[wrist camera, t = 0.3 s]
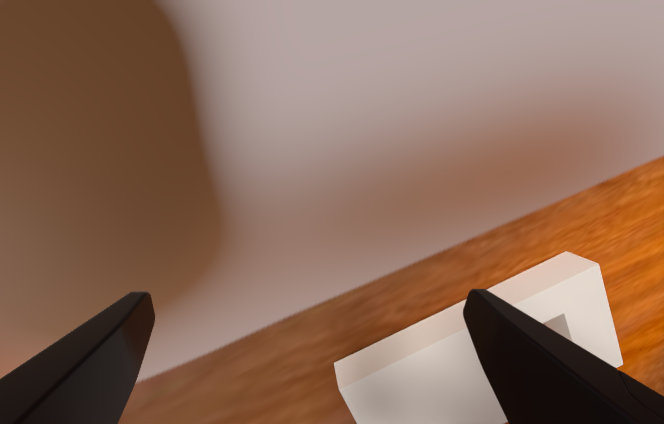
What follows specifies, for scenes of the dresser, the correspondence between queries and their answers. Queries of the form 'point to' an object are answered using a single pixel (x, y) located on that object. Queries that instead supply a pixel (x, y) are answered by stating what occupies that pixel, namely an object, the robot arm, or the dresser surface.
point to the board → (473, 350)
